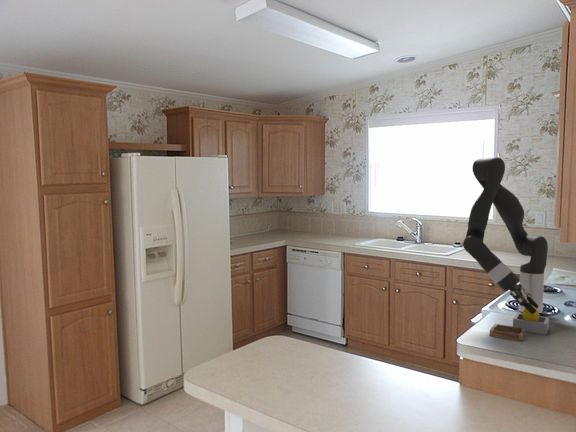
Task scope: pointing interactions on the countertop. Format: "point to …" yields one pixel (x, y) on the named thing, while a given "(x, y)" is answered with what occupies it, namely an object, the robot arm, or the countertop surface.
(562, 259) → the countertop surface
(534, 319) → the lemon
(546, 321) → the holder
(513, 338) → the cradle
